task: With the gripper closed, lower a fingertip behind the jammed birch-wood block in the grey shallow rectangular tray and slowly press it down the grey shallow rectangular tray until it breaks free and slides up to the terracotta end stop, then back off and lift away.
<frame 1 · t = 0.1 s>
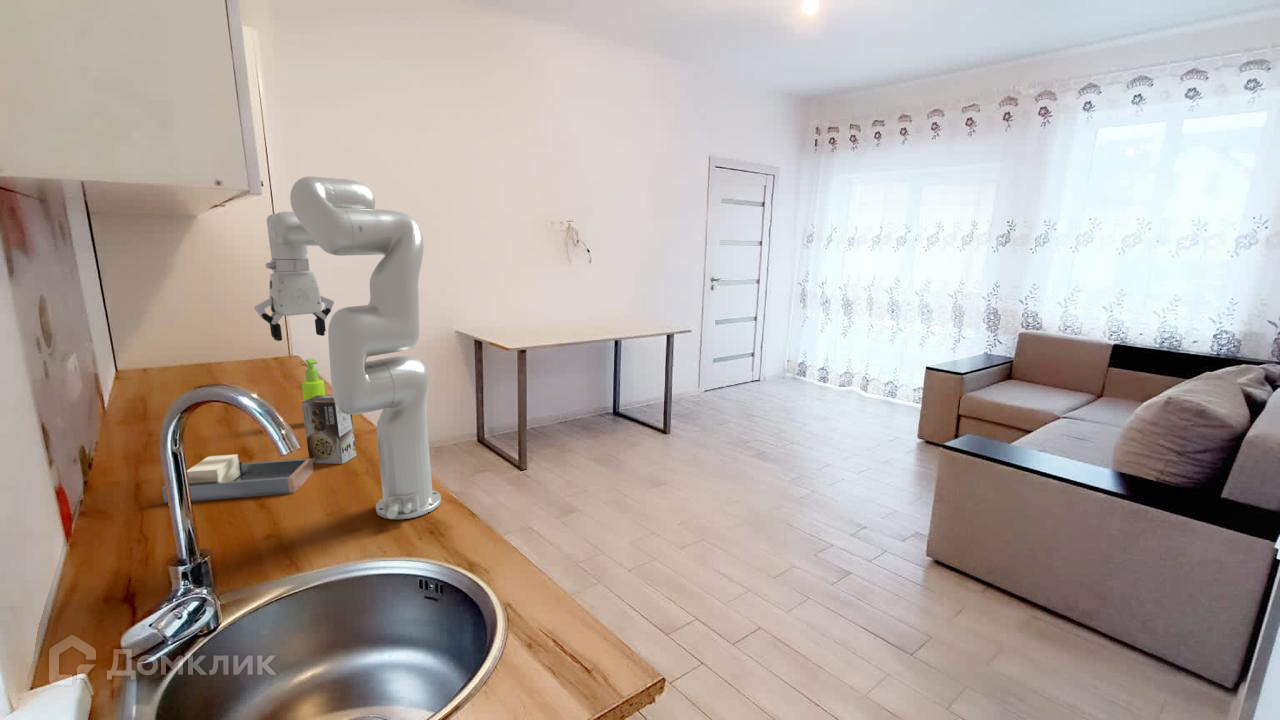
hand: (299, 337, 139), 31 cm above the counter, tool pointing down, fingers open, 9 cm apart
jammed block: (214, 473, 126), point 4 cm above the counter, slide at 0.0 cm
soap dispenser: (318, 424, 173), on the counter
coffee box: (333, 460, 144), on the counter
grey shallow rectangular tray: (241, 486, 128), on the counter
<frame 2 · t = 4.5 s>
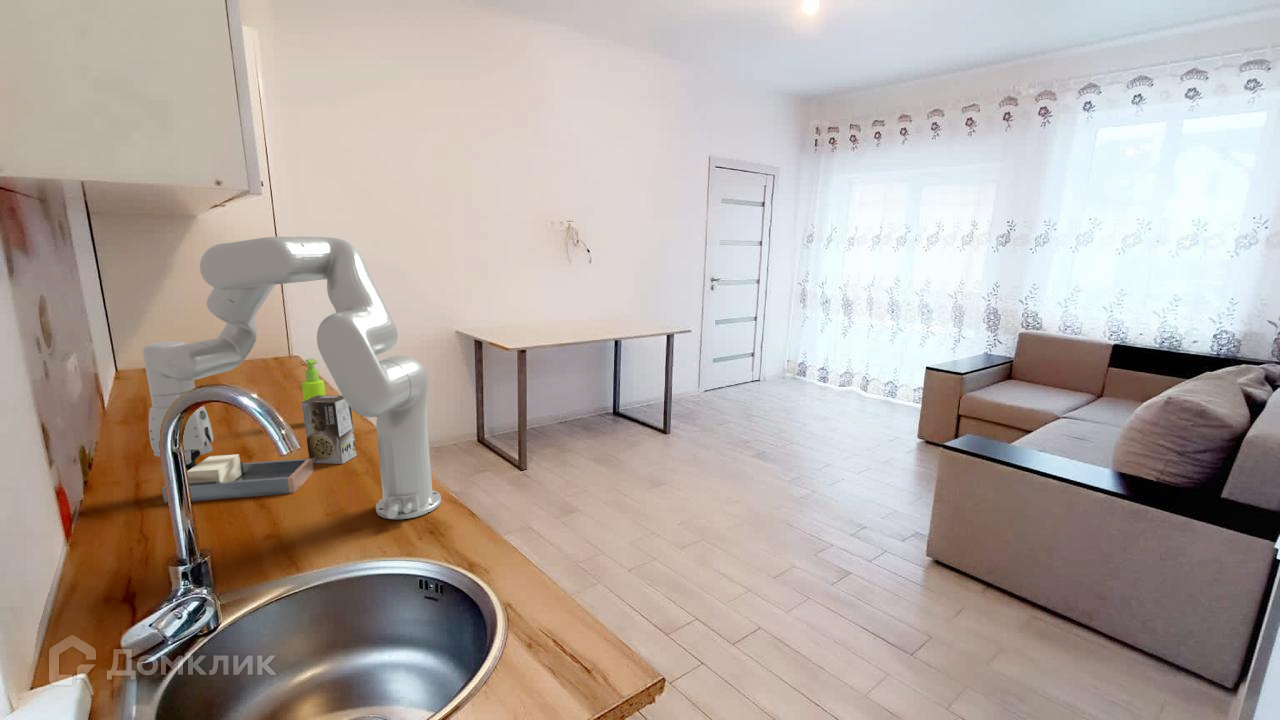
hand: (188, 479, 125), 3 cm above the counter, tool pointing down, fingers closed
nothing on the counter moved.
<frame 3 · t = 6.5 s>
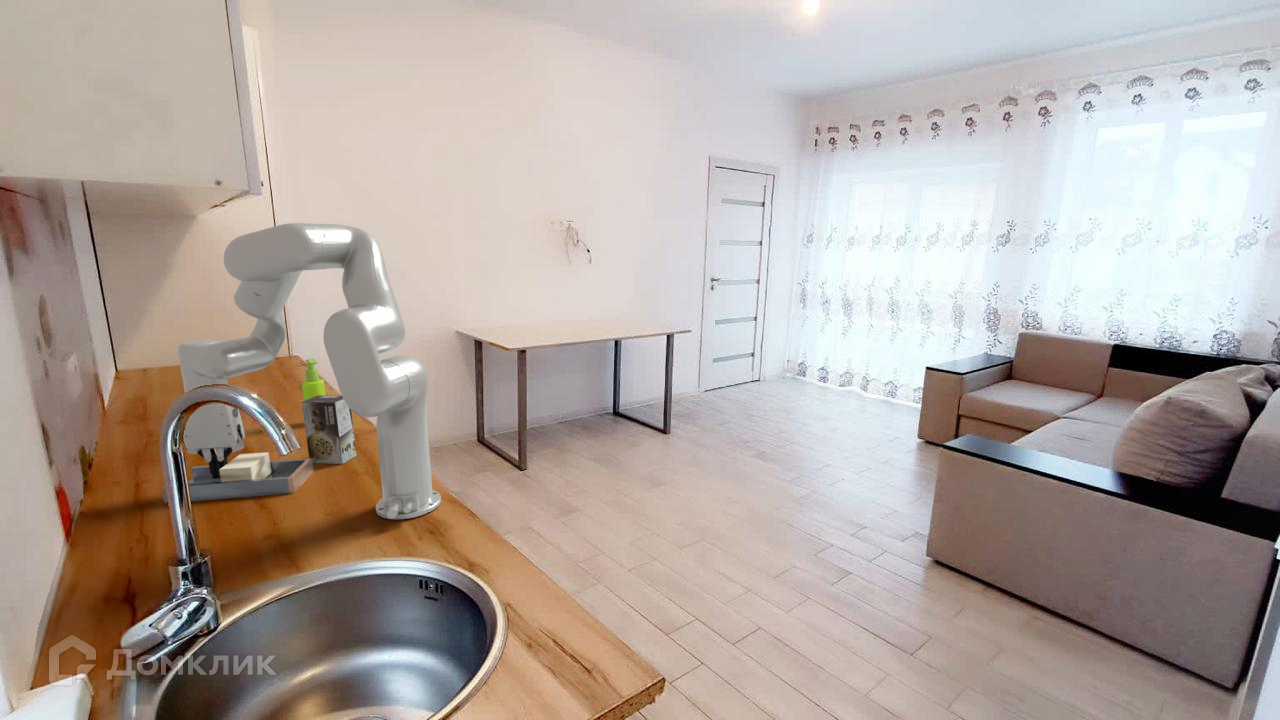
hand: (220, 476, 126), 3 cm above the counter, tool pointing down, fingers closed
jammed block: (246, 471, 127), point 4 cm above the counter, slide at 6.5 cm, touching gripper
everything else where it was.
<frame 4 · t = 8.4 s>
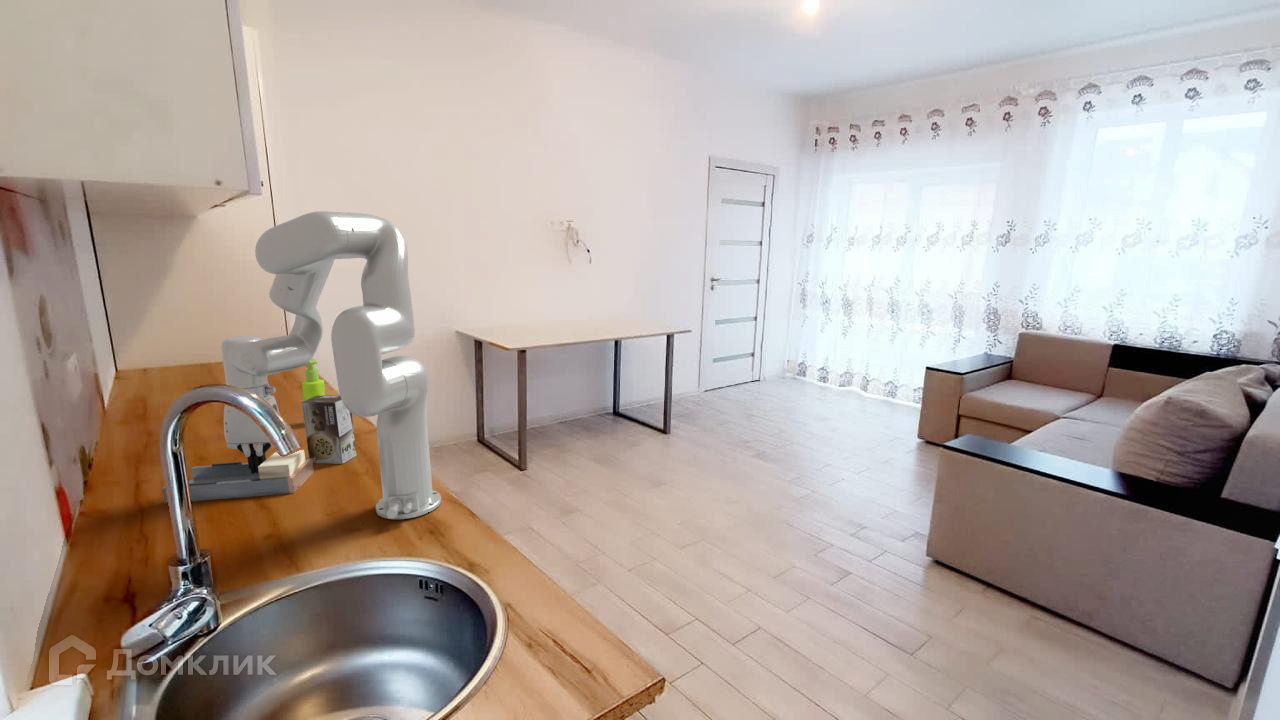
hand: (258, 470, 128), 3 cm above the counter, tool pointing down, fingers closed
jammed block: (283, 468, 129), point 4 cm above the counter, slide at 14.0 cm, touching grey shallow rectangular tray, gripper
everything else where it was.
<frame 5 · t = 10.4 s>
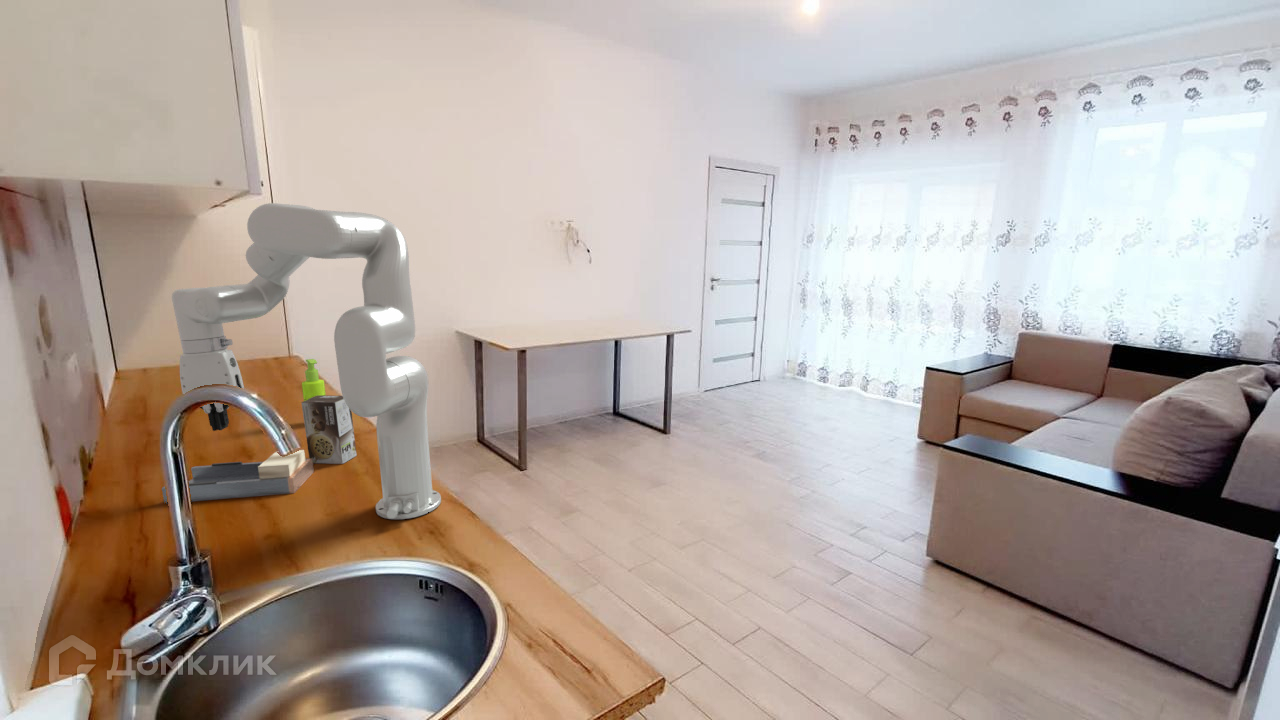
hand: (220, 428, 124), 14 cm above the counter, tool pointing down, fingers closed
jammed block: (283, 468, 129), point 4 cm above the counter, slide at 14.0 cm, touching grey shallow rectangular tray
everything else where it was.
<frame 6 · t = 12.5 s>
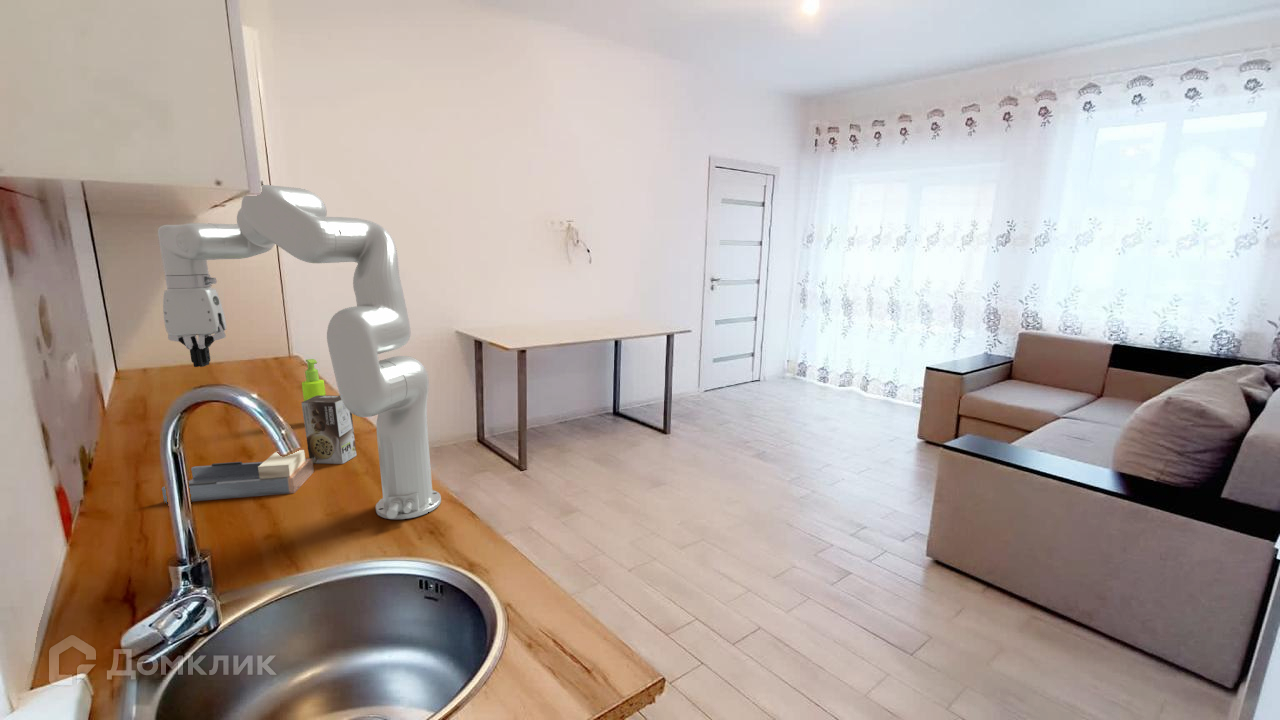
hand: (201, 365, 127), 27 cm above the counter, tool pointing down, fingers closed
nothing on the counter moved.
at the end: jammed block slide at 14.0 cm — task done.
